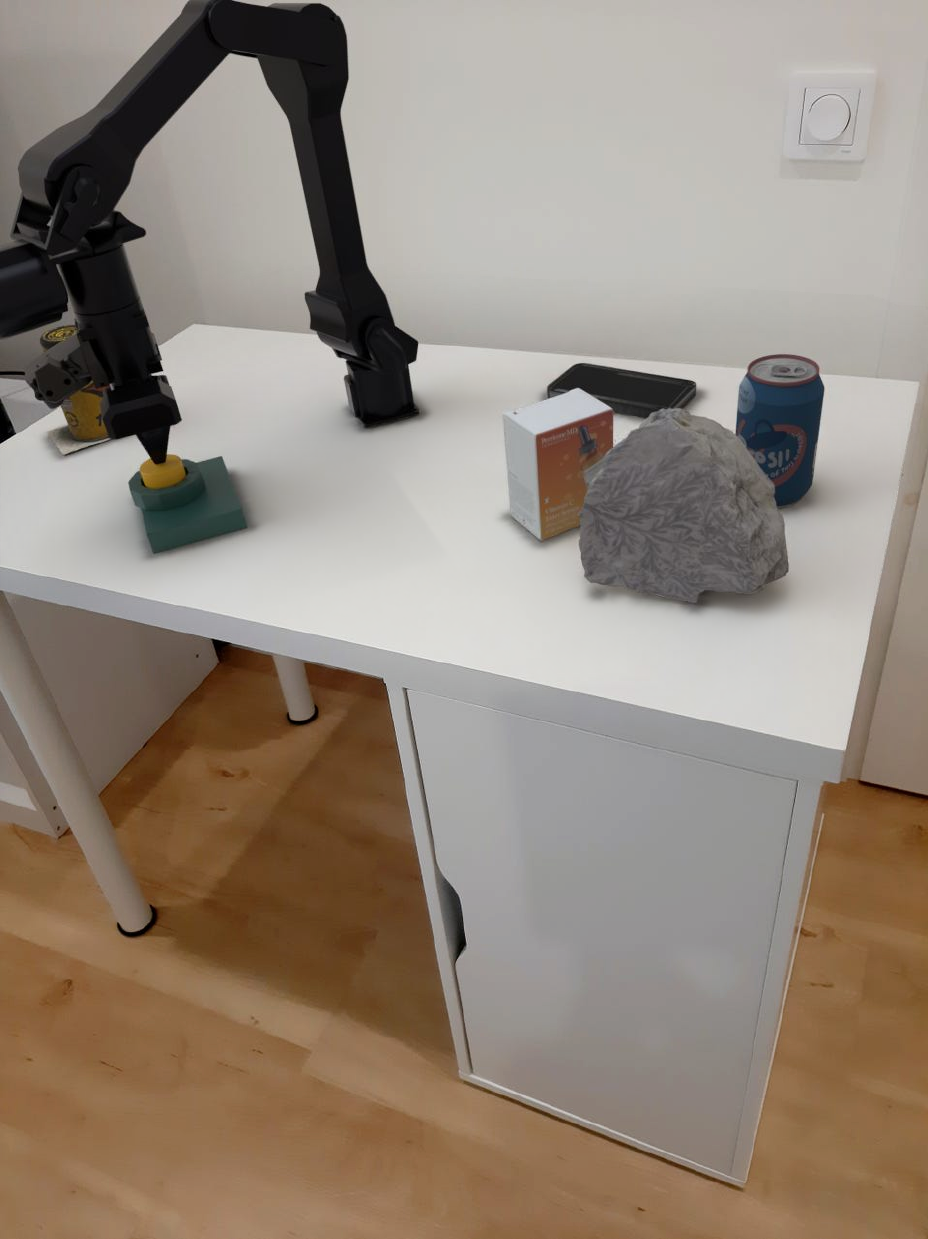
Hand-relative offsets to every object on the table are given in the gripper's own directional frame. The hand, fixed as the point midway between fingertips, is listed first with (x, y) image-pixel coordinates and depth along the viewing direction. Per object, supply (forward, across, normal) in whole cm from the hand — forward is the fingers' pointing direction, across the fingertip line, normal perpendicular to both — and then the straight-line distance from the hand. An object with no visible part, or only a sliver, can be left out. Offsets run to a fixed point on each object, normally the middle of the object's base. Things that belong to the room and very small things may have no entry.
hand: (160, 462), depth 94 cm
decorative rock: (+6, +34, +37) cm, 51 cm away
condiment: (+6, -24, -7) cm, 26 cm away
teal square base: (+6, +1, +2) cm, 6 cm away
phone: (+6, +1, +49) cm, 49 cm away
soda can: (+6, +26, +51) cm, 57 cm away
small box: (+6, +20, +33) cm, 39 cm away
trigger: (+2, 0, 0) cm, 2 cm away
